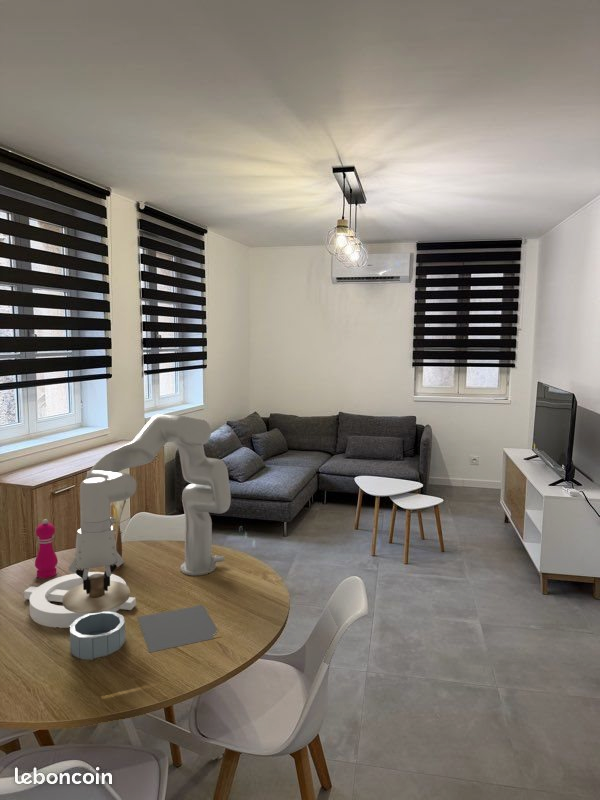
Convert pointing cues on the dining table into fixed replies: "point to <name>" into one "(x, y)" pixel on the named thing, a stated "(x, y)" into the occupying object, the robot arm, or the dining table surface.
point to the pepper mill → (45, 551)
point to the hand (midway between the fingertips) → (96, 589)
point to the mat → (177, 628)
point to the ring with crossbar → (61, 600)
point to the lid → (96, 596)
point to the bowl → (97, 634)
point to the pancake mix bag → (117, 524)
